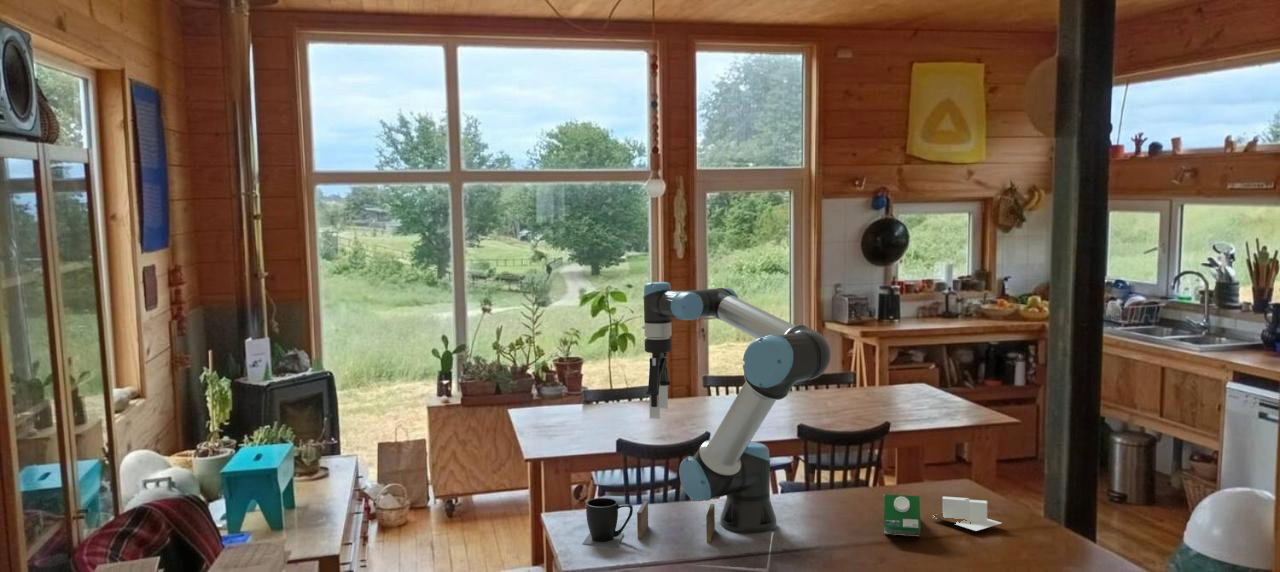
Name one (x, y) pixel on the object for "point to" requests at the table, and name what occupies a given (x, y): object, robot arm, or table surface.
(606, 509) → the mug
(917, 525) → the milk carton
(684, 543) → the table surface
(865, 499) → the table surface
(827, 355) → the robot arm
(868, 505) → the table surface
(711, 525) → the rack
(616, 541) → the coaster
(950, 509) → the napkin holder
